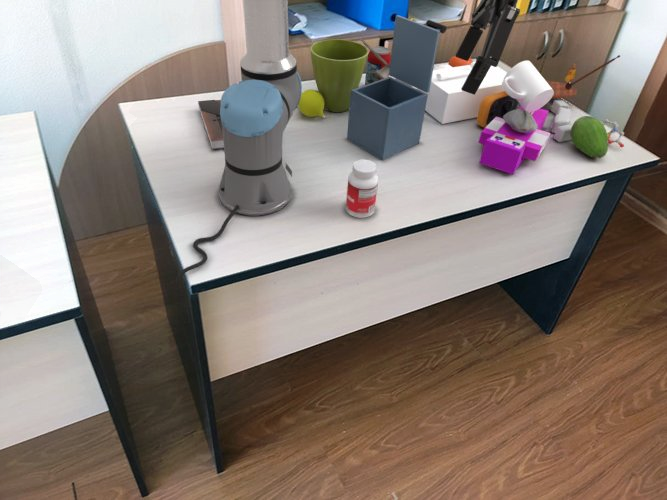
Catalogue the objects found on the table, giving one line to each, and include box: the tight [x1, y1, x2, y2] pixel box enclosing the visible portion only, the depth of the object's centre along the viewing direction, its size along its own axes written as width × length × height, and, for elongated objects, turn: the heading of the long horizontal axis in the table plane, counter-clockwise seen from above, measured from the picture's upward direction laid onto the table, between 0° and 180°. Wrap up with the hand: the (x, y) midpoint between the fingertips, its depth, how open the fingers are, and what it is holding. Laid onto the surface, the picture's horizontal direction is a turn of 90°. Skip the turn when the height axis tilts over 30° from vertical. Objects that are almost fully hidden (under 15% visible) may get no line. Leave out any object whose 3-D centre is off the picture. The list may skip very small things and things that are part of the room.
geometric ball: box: [433, 63, 452, 70], centre depth 159 cm, size 8×8×8 cm
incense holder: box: [545, 54, 621, 99], centre depth 156 cm, size 21×30×11 cm
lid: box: [389, 14, 447, 93], centre depth 128 cm, size 14×13×9 cm
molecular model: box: [603, 118, 625, 148], centre depth 141 cm, size 7×8×8 cm
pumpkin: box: [447, 55, 474, 67], centre depth 168 cm, size 8×8×7 cm
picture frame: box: [197, 99, 224, 150], centre depth 137 cm, size 16×2×22 cm
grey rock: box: [503, 109, 538, 133], centre depth 130 cm, size 12×8×5 cm
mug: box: [502, 60, 554, 114], centre depth 137 cm, size 12×8×10 cm
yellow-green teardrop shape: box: [297, 88, 327, 120], centre depth 141 cm, size 7×7×10 cm
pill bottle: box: [345, 159, 379, 219], centre depth 109 cm, size 6×6×11 cm
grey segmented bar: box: [550, 98, 574, 143], centre depth 147 cm, size 20×4×7 cm
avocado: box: [571, 115, 609, 159], centre depth 136 cm, size 8×8×12 cm
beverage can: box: [364, 45, 391, 85], centre depth 155 cm, size 7×7×12 cm
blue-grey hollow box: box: [346, 76, 428, 161], centre depth 131 cm, size 14×13×13 cm
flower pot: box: [310, 38, 369, 113], centre depth 144 cm, size 15×15×16 cm
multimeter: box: [476, 91, 521, 129], centre depth 146 cm, size 9×18×3 cm
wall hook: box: [358, 36, 390, 79], centre depth 148 cm, size 5×30×4 cm
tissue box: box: [417, 61, 508, 125], centre depth 150 cm, size 14×25×11 cm, turn 116°
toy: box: [478, 106, 552, 175], centre depth 136 cm, size 14×6×30 cm
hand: (464, 74), depth 106 cm, fingers open, 13 cm apart
